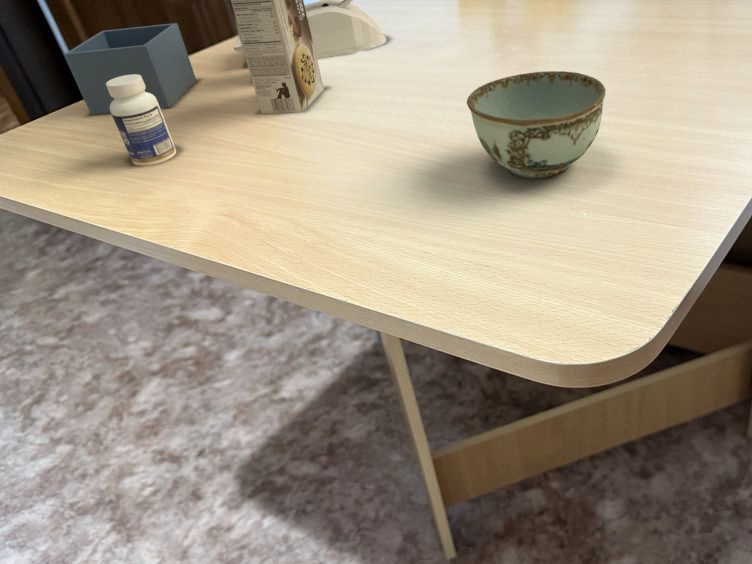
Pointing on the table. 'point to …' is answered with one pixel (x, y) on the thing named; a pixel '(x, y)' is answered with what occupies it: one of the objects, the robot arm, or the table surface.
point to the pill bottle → (140, 121)
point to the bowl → (537, 120)
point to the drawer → (132, 64)
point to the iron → (338, 29)
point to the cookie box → (278, 53)
